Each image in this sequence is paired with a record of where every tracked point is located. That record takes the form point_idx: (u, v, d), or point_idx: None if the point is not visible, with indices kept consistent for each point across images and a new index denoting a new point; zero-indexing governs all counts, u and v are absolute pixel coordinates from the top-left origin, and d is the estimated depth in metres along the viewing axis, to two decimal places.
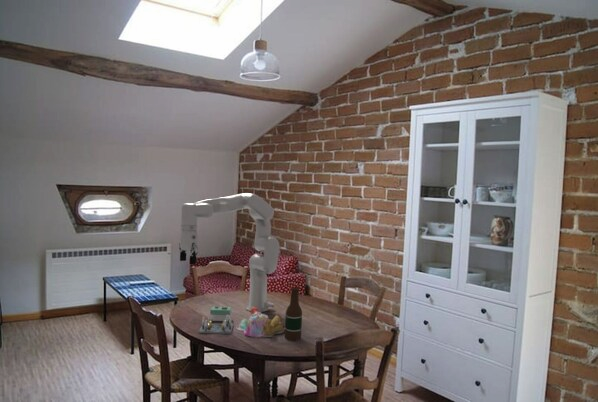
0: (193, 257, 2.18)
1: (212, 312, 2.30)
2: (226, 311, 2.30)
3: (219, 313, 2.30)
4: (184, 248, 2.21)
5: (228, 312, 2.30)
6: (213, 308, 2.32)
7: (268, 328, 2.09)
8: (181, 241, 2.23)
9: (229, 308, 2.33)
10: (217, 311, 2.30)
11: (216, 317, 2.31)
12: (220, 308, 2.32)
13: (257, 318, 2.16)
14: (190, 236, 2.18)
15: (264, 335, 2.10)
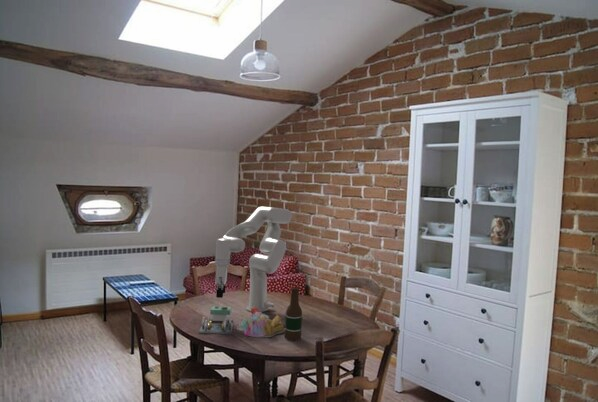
0: None
1: (212, 312, 2.30)
2: (226, 311, 2.30)
3: (219, 313, 2.30)
4: (225, 281, 2.32)
5: (228, 312, 2.30)
6: (213, 308, 2.32)
7: (269, 328, 2.09)
8: (225, 276, 2.29)
9: (229, 308, 2.33)
10: (217, 311, 2.30)
11: (216, 317, 2.31)
12: (220, 308, 2.32)
13: (257, 318, 2.16)
14: None
15: (265, 335, 2.10)
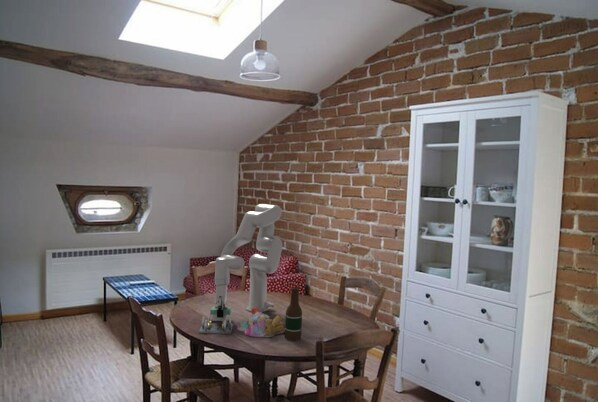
0: None
1: (212, 312, 2.30)
2: (226, 311, 2.30)
3: None
4: (225, 300, 2.33)
5: (228, 312, 2.30)
6: (213, 308, 2.32)
7: (269, 328, 2.09)
8: (225, 295, 2.29)
9: (229, 308, 2.33)
10: None
11: (216, 317, 2.31)
12: None
13: (258, 318, 2.16)
14: None
15: (265, 335, 2.10)
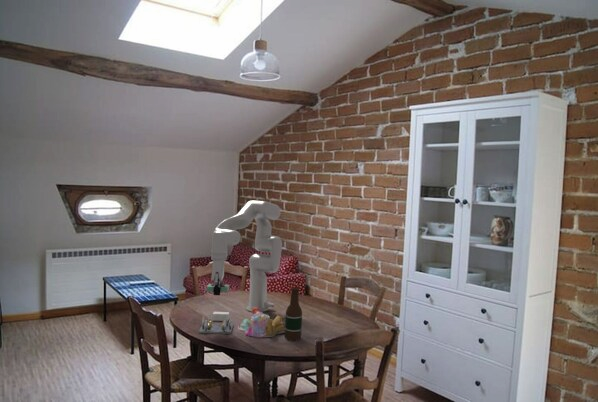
0: None
1: (208, 289, 2.14)
2: (223, 289, 2.14)
3: None
4: (222, 277, 2.17)
5: (225, 289, 2.14)
6: (209, 285, 2.17)
7: (270, 328, 2.09)
8: (222, 272, 2.14)
9: (226, 286, 2.18)
10: (213, 288, 2.14)
11: (216, 317, 2.31)
12: None
13: (258, 318, 2.16)
14: None
15: (266, 335, 2.10)
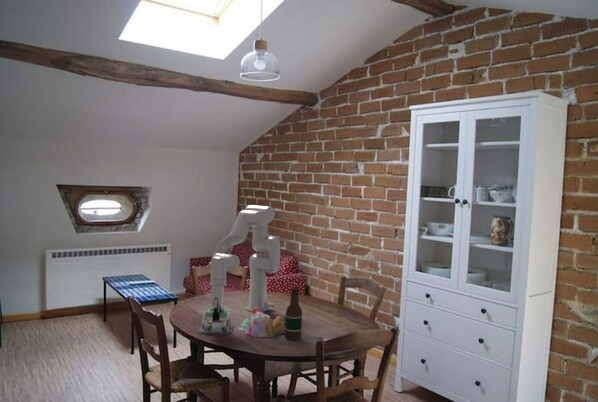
0: None
1: (207, 315, 2.14)
2: (222, 314, 2.15)
3: None
4: (221, 302, 2.17)
5: (224, 315, 2.15)
6: (208, 310, 2.17)
7: (270, 328, 2.09)
8: (221, 297, 2.14)
9: (225, 310, 2.18)
10: (212, 314, 2.14)
11: None
12: None
13: (259, 318, 2.16)
14: None
15: (266, 335, 2.10)
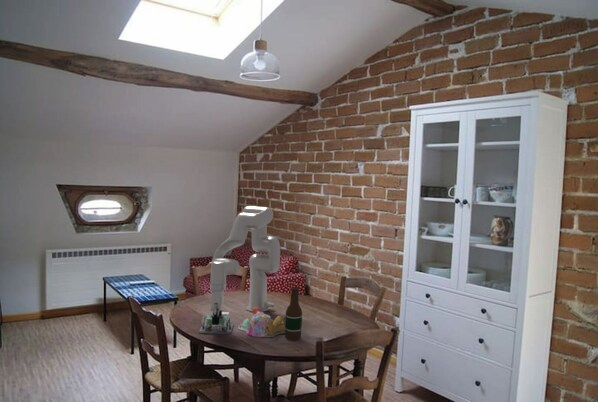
0: None
1: (207, 321, 2.15)
2: (222, 321, 2.15)
3: None
4: (221, 307, 2.18)
5: None
6: (208, 317, 2.17)
7: (270, 328, 2.09)
8: (221, 302, 2.15)
9: (225, 317, 2.18)
10: None
11: None
12: None
13: (259, 318, 2.16)
14: None
15: (266, 335, 2.10)
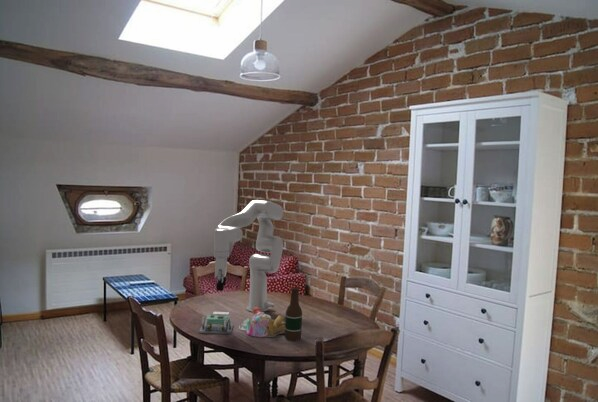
0: None
1: (207, 321, 2.15)
2: (222, 321, 2.15)
3: (215, 322, 2.15)
4: (225, 273, 2.21)
5: None
6: (208, 317, 2.17)
7: (271, 328, 2.09)
8: (225, 268, 2.18)
9: (225, 317, 2.18)
10: (213, 320, 2.15)
11: None
12: (216, 317, 2.17)
13: (260, 318, 2.16)
14: None
15: (267, 335, 2.11)
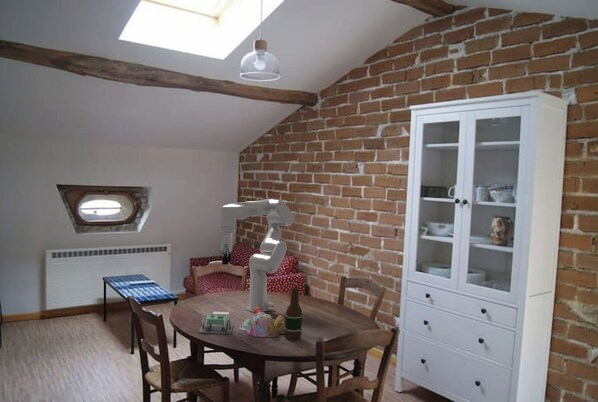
0: None
1: (207, 321, 2.15)
2: (222, 321, 2.15)
3: (215, 322, 2.15)
4: (231, 249, 2.30)
5: None
6: (208, 317, 2.17)
7: (272, 328, 2.09)
8: (231, 243, 2.27)
9: (225, 317, 2.18)
10: (213, 320, 2.15)
11: None
12: (216, 317, 2.17)
13: (260, 318, 2.16)
14: None
15: (268, 335, 2.11)
